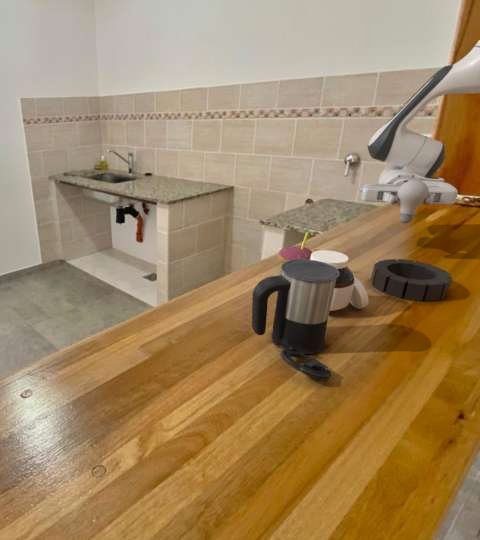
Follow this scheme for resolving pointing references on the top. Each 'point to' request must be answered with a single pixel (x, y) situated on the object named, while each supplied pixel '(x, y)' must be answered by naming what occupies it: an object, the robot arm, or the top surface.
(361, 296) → the spread jar
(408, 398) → the top surface
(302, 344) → the milk frother
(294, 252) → the cupcake
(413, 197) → the lightbulb
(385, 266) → the tire
